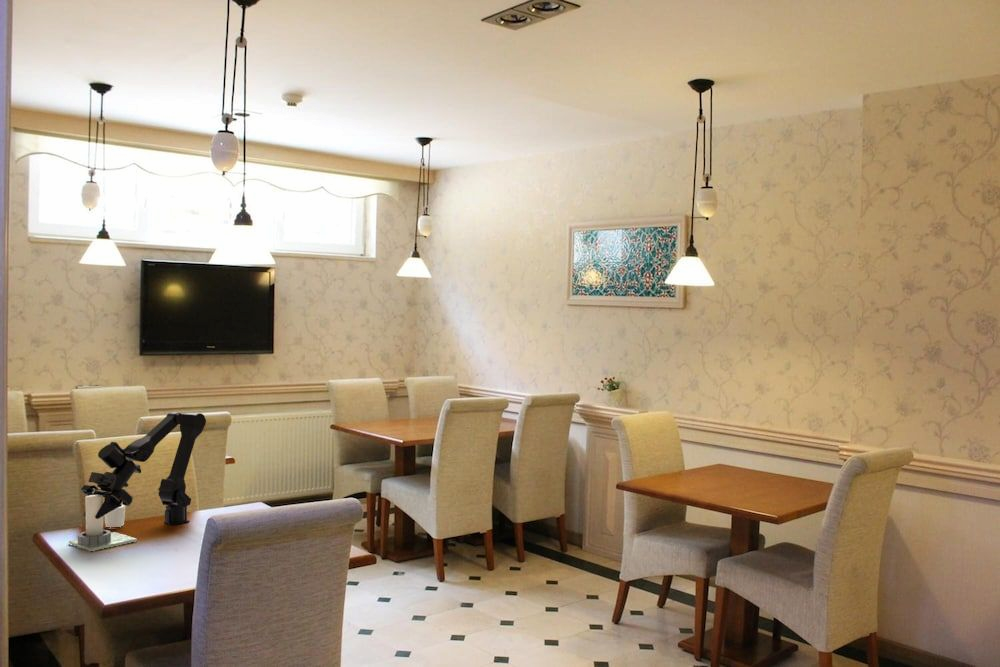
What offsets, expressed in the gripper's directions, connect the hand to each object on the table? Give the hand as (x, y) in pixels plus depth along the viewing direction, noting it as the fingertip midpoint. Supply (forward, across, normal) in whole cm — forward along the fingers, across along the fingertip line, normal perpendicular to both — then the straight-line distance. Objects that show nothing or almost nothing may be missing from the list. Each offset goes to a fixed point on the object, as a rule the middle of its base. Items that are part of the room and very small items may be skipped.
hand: (90, 517), depth 269 cm
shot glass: (-8, -14, +21) cm, 26 cm away
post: (+4, 0, +6) cm, 7 cm away
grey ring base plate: (+4, +1, +9) cm, 10 cm away
